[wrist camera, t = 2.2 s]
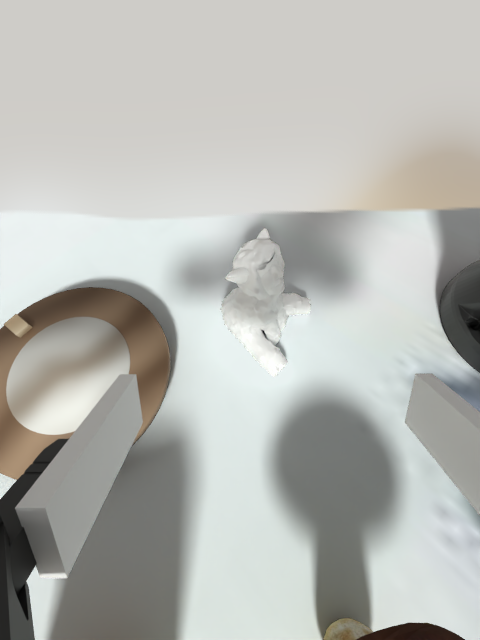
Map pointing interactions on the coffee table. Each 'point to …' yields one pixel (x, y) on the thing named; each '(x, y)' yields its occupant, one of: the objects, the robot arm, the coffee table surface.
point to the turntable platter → (73, 367)
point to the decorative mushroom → (387, 632)
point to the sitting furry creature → (261, 301)
